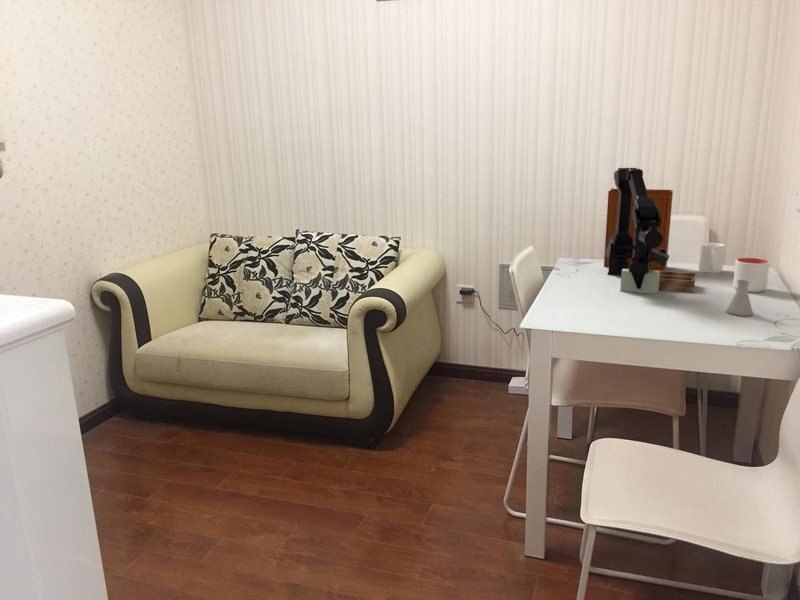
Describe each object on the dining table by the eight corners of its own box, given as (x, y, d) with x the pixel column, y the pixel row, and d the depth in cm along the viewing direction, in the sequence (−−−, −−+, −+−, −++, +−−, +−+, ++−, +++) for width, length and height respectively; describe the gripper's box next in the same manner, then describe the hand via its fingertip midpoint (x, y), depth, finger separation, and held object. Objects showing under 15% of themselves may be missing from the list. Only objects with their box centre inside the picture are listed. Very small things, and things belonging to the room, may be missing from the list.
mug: (723, 276, 245) (726, 248, 242) (698, 274, 248) (701, 247, 245) (721, 269, 256) (724, 243, 253) (697, 268, 259) (700, 242, 256)
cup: (768, 294, 220) (771, 264, 217) (734, 292, 223) (738, 263, 220) (762, 287, 229) (766, 258, 226) (730, 285, 232) (734, 257, 230)
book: (603, 266, 264) (608, 190, 257) (606, 262, 272) (610, 188, 264) (665, 270, 256) (672, 192, 248) (666, 266, 263) (673, 189, 255)
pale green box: (620, 290, 228) (621, 270, 226) (621, 288, 231) (622, 268, 229) (657, 293, 223) (659, 273, 221) (658, 291, 226) (660, 271, 224)
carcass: (637, 288, 230) (638, 275, 229) (640, 281, 240) (640, 269, 239) (693, 292, 223) (695, 279, 222) (694, 285, 233) (695, 272, 232)
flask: (753, 311, 201) (757, 279, 198) (752, 318, 195) (756, 284, 192) (727, 308, 204) (731, 277, 202) (724, 314, 198) (728, 282, 196)
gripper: (667, 248, 211) (663, 296, 215) (670, 238, 227) (666, 282, 231) (630, 246, 215) (626, 293, 220) (635, 236, 232) (632, 280, 236)
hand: (639, 287), depth 226 cm, fingers closed on pale green box, 3 cm apart
